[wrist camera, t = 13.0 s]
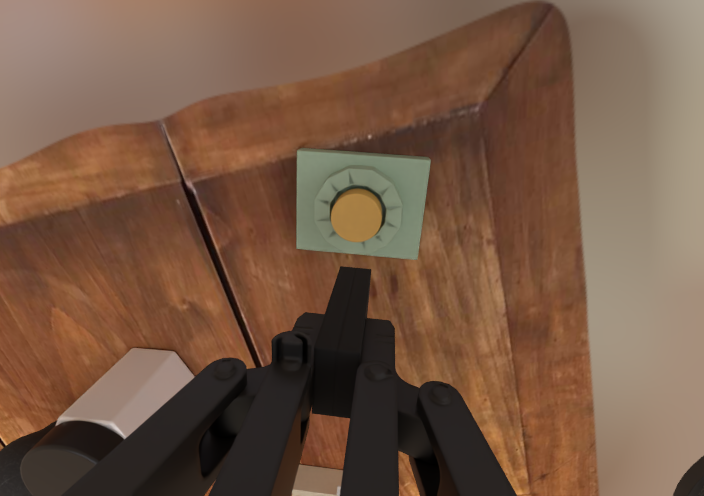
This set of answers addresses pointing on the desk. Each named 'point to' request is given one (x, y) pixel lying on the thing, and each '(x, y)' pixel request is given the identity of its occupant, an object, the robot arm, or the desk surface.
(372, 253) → the button block
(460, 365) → the desk surface
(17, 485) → the light bulb
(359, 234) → the button
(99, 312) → the desk surface
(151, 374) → the jar
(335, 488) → the panel
